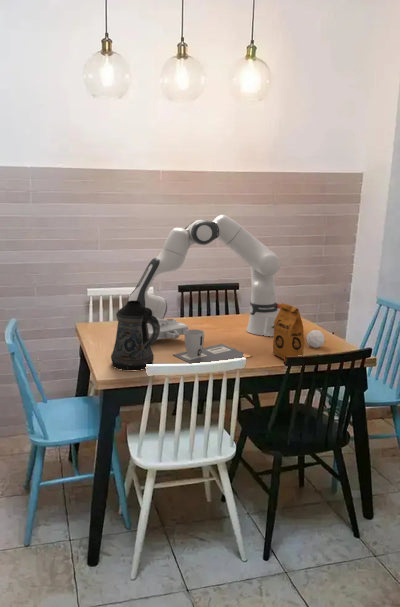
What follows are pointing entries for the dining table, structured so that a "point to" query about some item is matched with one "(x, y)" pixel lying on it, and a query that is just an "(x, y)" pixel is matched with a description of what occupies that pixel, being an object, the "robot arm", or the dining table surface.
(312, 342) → the geometric ball
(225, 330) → the dining table surface
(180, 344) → the dining table surface
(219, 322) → the dining table surface
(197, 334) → the cup
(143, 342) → the beer stein
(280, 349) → the coffee package
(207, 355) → the label sheet
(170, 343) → the dining table surface
